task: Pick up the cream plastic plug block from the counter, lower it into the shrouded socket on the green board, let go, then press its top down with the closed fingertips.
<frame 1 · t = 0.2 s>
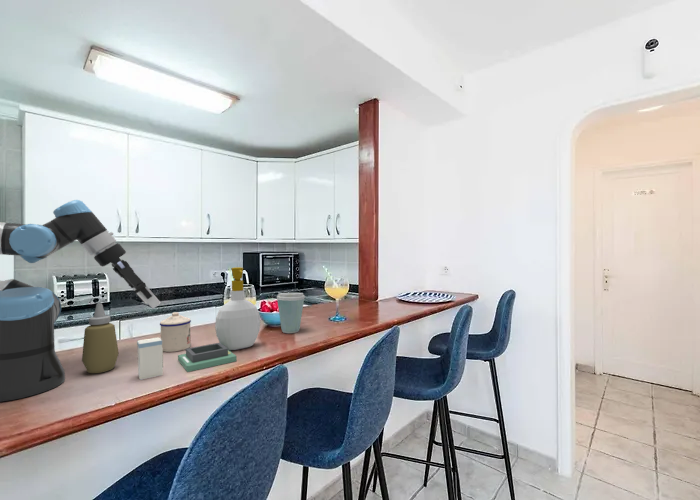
hand: (153, 303, 108), 15 cm above the table, tool tilted 35°, fingers open, 13 cm apart
white round bottle: (239, 348, 111), on the table, touching header board
squeeze bottle: (101, 370, 93), on the table
plug: (150, 375, 88), on the table
teacup with lid: (175, 347, 113), on the table
disposable coffee cup: (291, 331, 131), on the table
header board: (207, 360, 99), on the table
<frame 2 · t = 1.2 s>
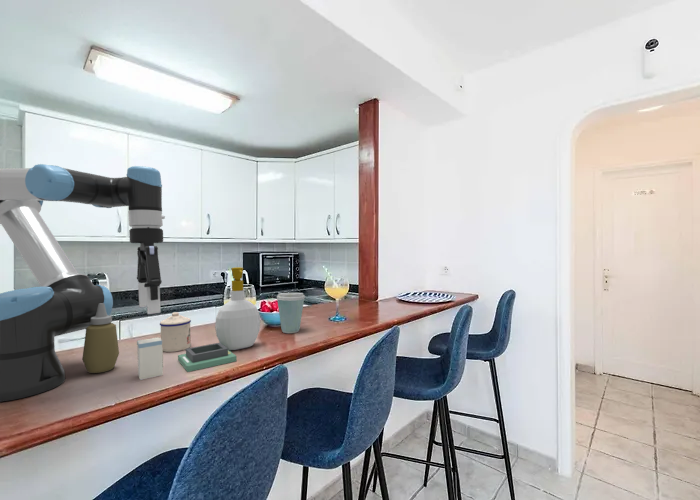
hand: (149, 309, 89), 17 cm above the table, tool pointing down, fingers open, 13 cm apart
nothing on the table moved.
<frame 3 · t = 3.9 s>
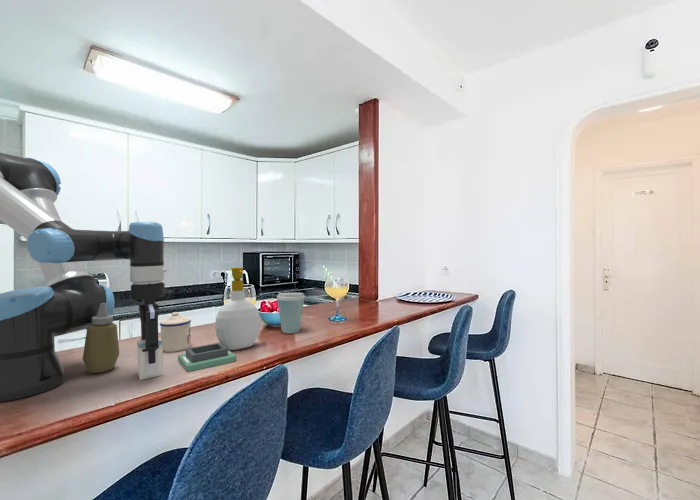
hand: (150, 372, 88), 1 cm above the table, tool pointing down, fingers closed on plug, 4 cm apart
squeeze bottle: (101, 370, 93), on the table, touching arm
plug: (150, 375, 88), on the table, touching gripper
everything else where it was.
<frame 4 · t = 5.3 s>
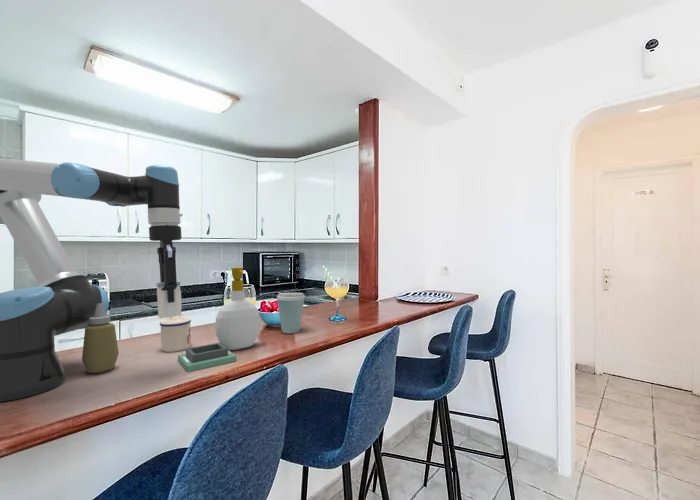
hand: (169, 313, 91), 15 cm above the table, tool pointing down, fingers closed on plug, 4 cm apart
squeeze bottle: (101, 370, 93), on the table
plug: (169, 315, 91), point 15 cm above the table, touching gripper
everything else where it was.
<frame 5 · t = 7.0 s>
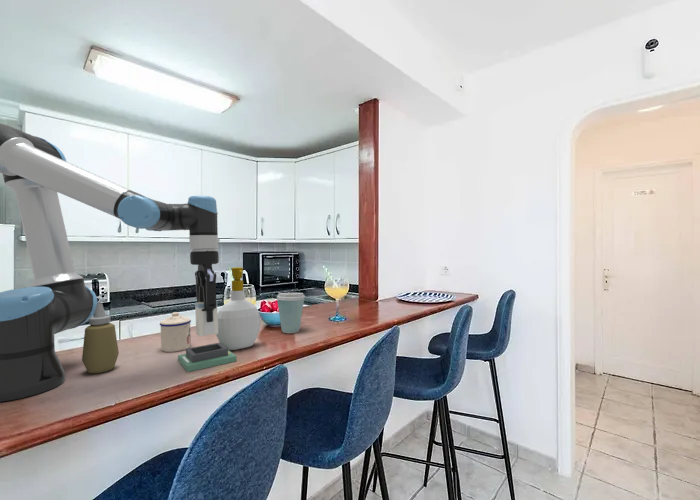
hand: (207, 331, 99), 8 cm above the table, tool pointing down, fingers closed on plug, 4 cm apart
plug: (207, 333, 99), point 8 cm above the table, touching gripper
everything else where it was.
when the fingers open (4 cm above the table, at t = 8.4 s): plug drops 2 cm, resting on header board.
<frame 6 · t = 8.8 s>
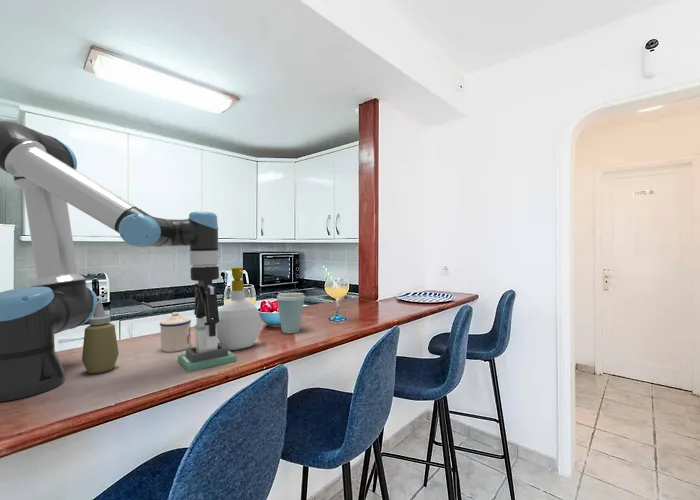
hand: (206, 343, 99), 5 cm above the table, tool pointing down, fingers open, 9 cm apart
plug: (206, 355, 99), point 1 cm above the table, touching header board
everything else where it was.
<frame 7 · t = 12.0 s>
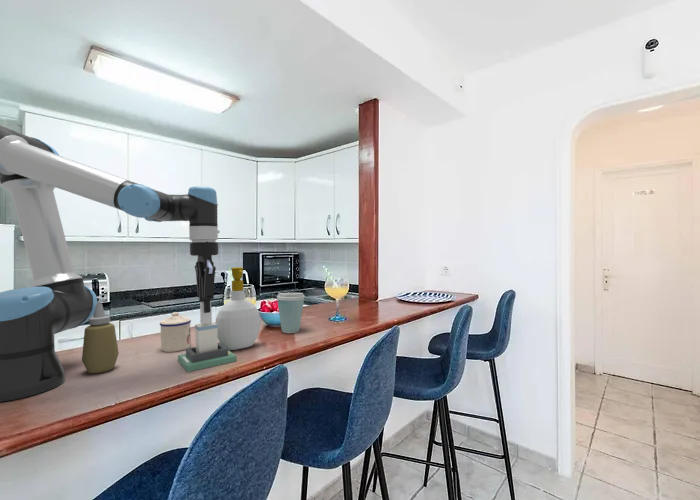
hand: (206, 323, 99), 11 cm above the table, tool pointing down, fingers closed
nothing on the table moved.
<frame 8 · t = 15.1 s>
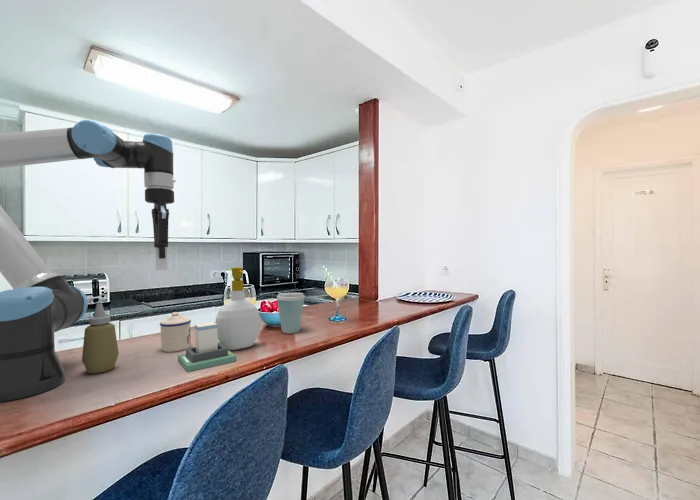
hand: (161, 269, 101), 26 cm above the table, tool pointing down, fingers closed
nothing on the table moved.
at the end: plug 0.0 cm off-centre on the header board, point 1.5 cm above the header board's base; plug tilted 0°; the gripper is holding nothing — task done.
